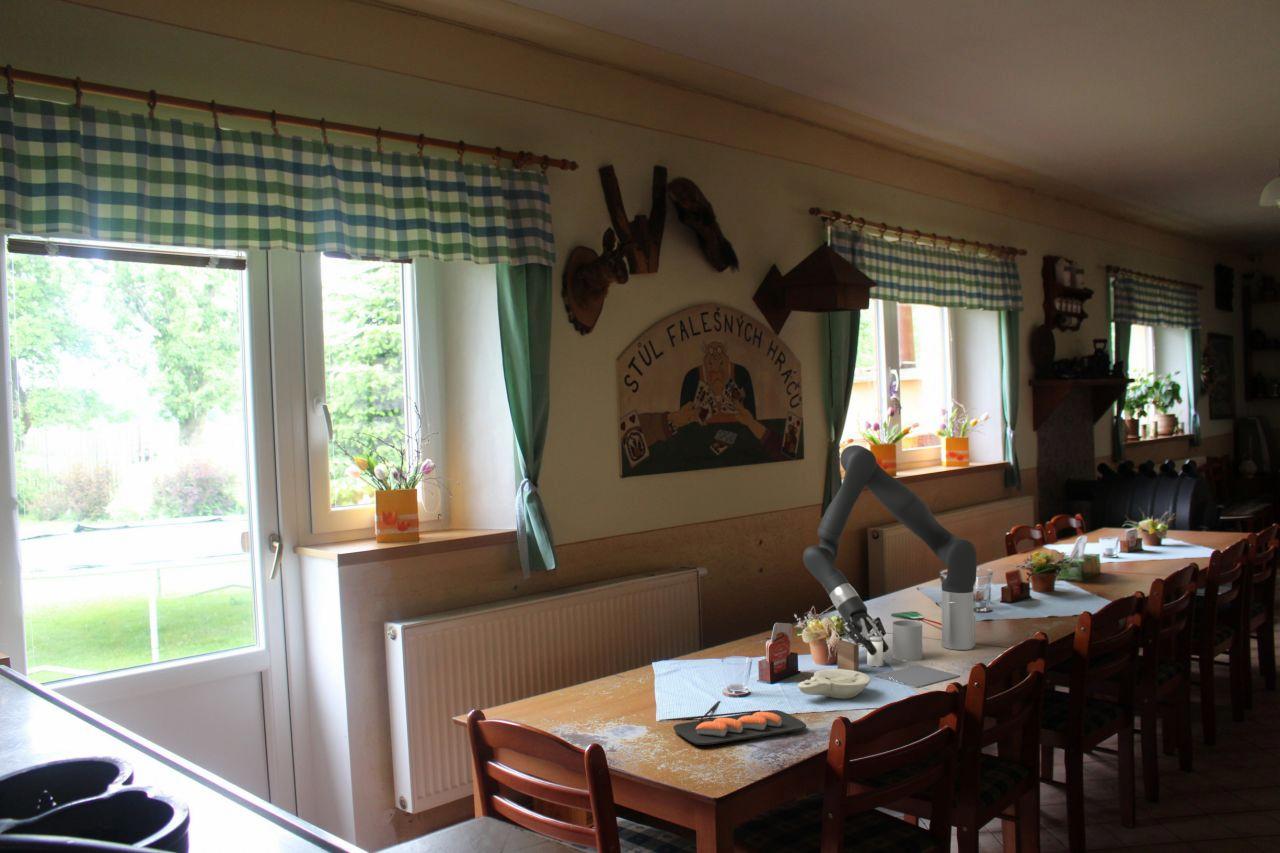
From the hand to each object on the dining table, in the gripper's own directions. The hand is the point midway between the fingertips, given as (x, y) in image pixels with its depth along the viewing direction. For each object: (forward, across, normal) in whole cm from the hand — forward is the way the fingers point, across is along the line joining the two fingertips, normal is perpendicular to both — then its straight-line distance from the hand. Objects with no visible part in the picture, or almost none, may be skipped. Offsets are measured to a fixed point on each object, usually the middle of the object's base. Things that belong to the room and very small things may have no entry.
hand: (880, 651), depth 280 cm
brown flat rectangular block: (+2, -11, +4) cm, 12 cm away
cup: (+2, +14, +4) cm, 15 cm away
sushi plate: (+11, -67, -4) cm, 68 cm away
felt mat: (+12, 0, -6) cm, 14 cm away
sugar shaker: (+2, 0, +4) cm, 5 cm away
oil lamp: (+12, -32, -5) cm, 35 cm away
